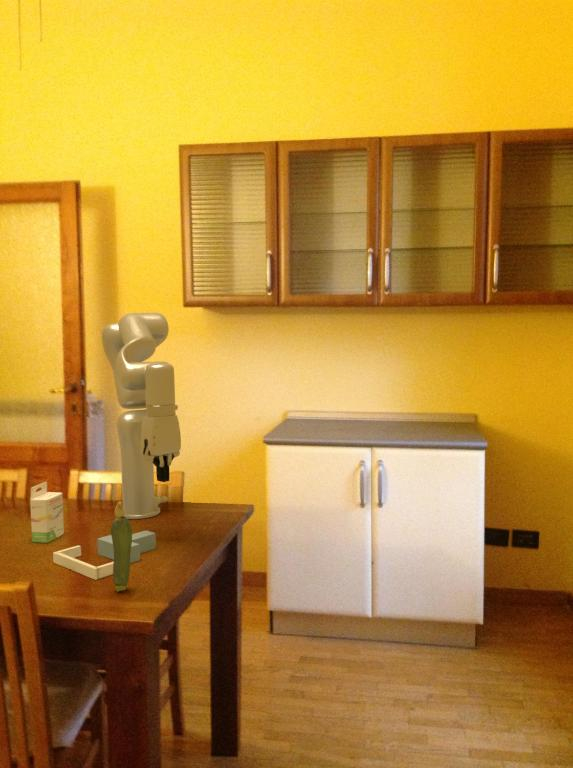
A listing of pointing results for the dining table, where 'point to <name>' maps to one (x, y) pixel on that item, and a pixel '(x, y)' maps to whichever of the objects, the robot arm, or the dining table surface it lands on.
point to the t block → (139, 545)
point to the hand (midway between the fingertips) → (163, 480)
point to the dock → (81, 563)
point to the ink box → (46, 514)
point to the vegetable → (121, 548)
